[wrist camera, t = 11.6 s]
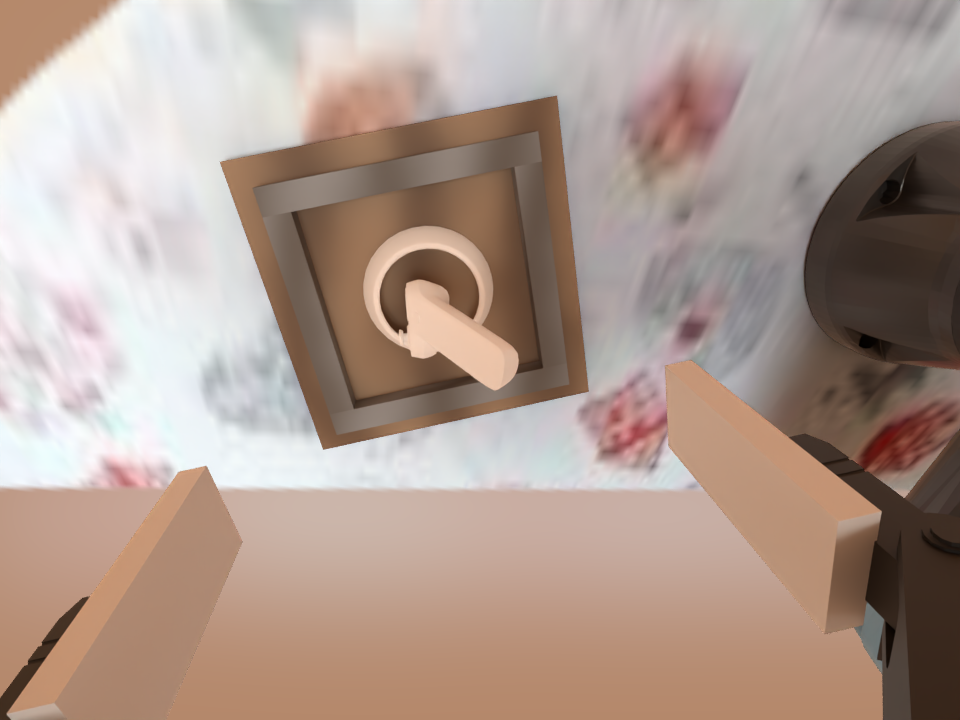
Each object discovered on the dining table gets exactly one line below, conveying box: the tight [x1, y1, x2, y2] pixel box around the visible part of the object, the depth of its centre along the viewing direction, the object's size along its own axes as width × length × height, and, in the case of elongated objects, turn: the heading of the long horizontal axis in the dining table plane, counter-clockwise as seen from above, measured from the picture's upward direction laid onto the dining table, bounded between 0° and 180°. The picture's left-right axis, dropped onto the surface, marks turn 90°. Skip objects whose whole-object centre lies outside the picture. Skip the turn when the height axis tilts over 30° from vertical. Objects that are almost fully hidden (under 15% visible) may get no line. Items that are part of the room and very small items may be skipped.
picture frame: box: [220, 96, 589, 450], centre depth 31 cm, size 18×18×2 cm
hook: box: [363, 226, 519, 390], centre depth 29 cm, size 8×12×7 cm
